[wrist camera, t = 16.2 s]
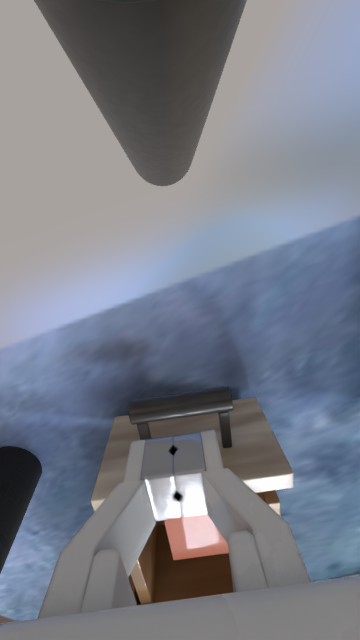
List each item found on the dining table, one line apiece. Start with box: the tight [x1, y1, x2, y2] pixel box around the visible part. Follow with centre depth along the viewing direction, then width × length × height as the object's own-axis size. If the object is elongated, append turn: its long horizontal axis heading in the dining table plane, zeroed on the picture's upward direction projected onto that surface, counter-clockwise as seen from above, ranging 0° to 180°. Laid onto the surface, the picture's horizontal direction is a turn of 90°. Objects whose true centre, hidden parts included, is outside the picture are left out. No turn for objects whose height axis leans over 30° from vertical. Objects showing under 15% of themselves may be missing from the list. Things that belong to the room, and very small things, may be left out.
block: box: [164, 514, 229, 560], centre depth 19 cm, size 5×5×5 cm
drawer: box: [91, 387, 294, 605], centre depth 19 cm, size 17×11×7 cm
